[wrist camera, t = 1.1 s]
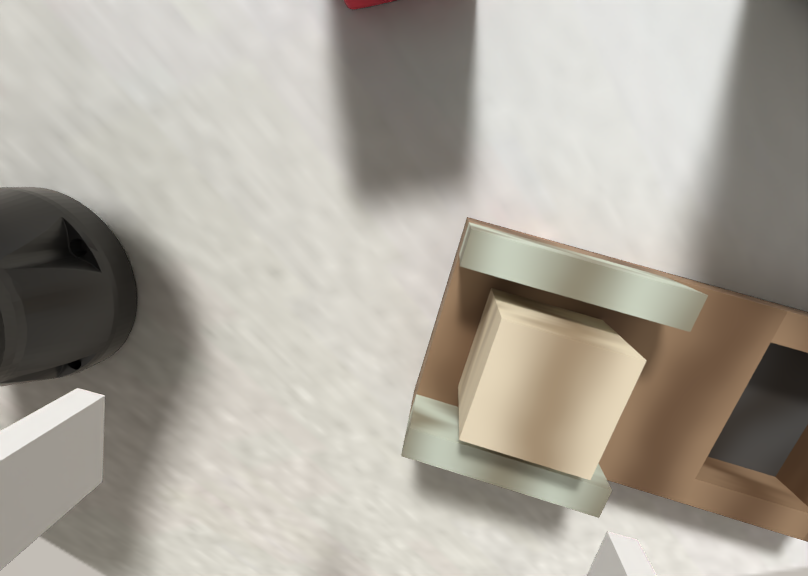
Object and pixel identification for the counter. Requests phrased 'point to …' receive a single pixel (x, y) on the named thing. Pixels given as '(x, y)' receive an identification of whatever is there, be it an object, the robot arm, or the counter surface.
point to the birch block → (545, 384)
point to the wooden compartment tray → (638, 383)
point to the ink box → (364, 3)
